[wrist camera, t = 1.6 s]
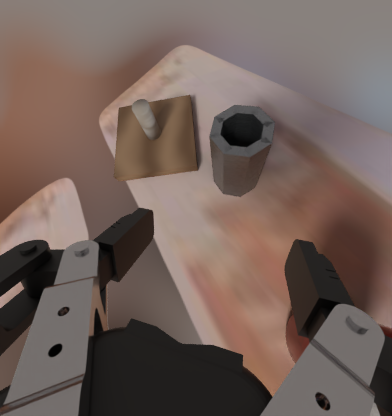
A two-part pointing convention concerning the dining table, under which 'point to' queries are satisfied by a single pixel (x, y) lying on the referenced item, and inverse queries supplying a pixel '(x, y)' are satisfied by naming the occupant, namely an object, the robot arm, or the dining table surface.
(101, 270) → the robot arm
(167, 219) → the dining table surface
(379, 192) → the dining table surface
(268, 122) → the sleeve
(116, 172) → the stand
